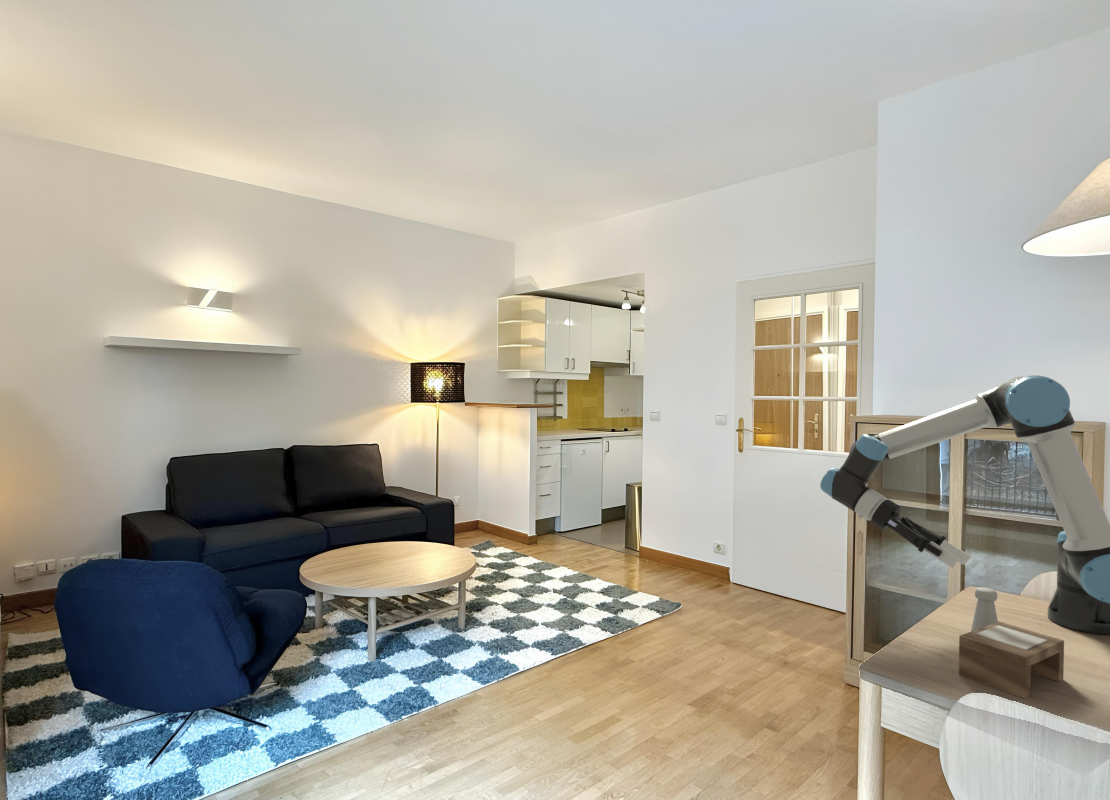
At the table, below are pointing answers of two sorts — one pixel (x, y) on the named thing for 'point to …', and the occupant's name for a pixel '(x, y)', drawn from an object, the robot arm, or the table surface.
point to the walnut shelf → (1010, 657)
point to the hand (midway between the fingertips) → (962, 561)
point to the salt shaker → (984, 608)
